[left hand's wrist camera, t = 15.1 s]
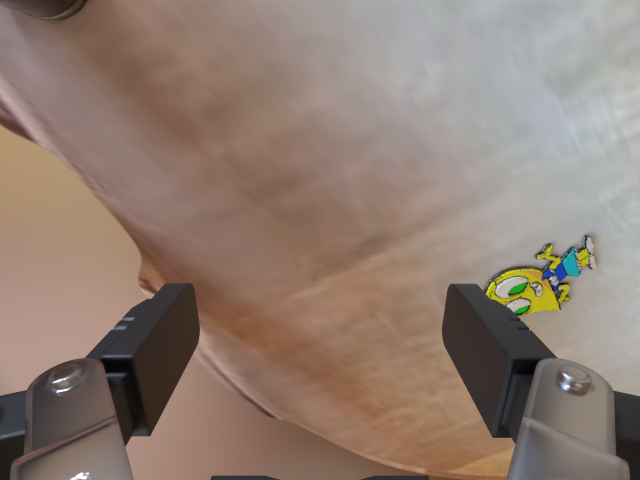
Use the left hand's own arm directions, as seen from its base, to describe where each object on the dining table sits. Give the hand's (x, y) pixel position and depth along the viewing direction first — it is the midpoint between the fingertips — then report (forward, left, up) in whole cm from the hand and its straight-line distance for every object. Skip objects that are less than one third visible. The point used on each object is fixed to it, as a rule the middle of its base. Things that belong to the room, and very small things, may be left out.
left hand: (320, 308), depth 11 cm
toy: (+27, -15, -30) cm, 44 cm away
